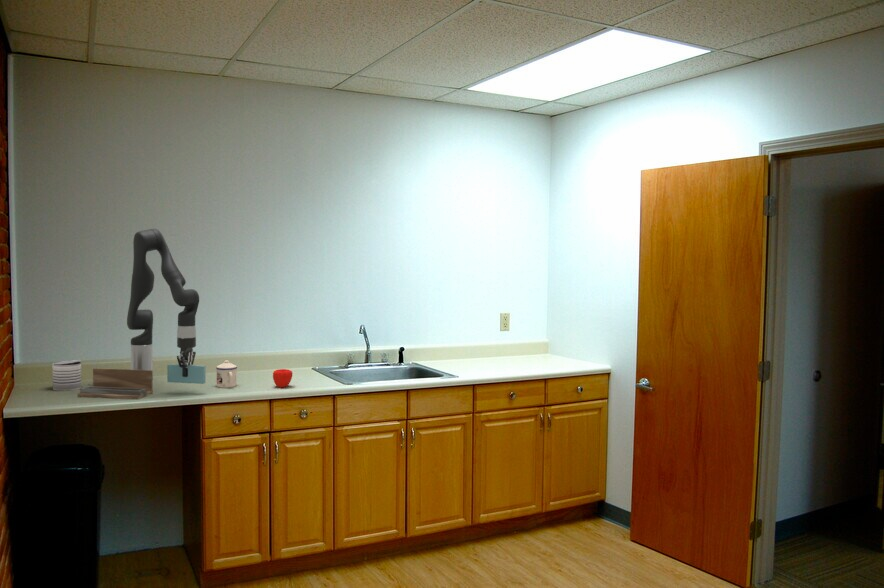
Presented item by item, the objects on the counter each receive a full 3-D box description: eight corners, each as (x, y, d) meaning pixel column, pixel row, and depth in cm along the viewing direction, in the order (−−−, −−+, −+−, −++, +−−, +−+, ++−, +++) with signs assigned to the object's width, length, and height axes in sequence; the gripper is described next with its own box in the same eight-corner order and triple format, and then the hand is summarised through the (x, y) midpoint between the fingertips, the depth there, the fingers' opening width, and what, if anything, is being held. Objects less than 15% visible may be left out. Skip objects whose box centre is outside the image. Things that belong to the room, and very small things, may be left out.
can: (67, 391, 300) (66, 363, 299) (45, 389, 303) (45, 361, 302) (87, 386, 311) (87, 359, 310) (67, 385, 314) (67, 358, 313)
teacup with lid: (213, 385, 321) (213, 359, 320) (233, 383, 326) (233, 358, 325) (221, 389, 311) (221, 363, 310) (241, 388, 316) (241, 362, 315)
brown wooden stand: (94, 391, 302) (94, 367, 301) (152, 393, 299) (152, 370, 299) (77, 396, 290) (77, 372, 289) (137, 399, 287) (137, 375, 287)
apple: (295, 387, 319) (295, 370, 319) (276, 389, 315) (276, 372, 314) (288, 384, 327) (288, 367, 326) (270, 385, 322) (270, 368, 322)
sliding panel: (169, 381, 303) (169, 364, 303) (205, 383, 302) (205, 365, 302) (167, 382, 301) (167, 364, 301) (203, 383, 300) (203, 366, 300)
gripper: (185, 333, 308) (185, 373, 309) (170, 337, 294) (170, 378, 295) (202, 334, 307) (201, 373, 308) (187, 338, 293) (187, 379, 294)
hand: (186, 376), depth 302 cm, fingers closed on sliding panel, 1 cm apart
